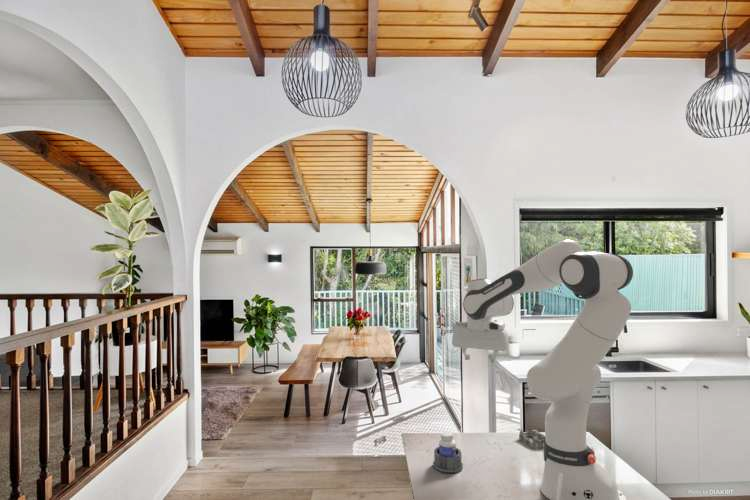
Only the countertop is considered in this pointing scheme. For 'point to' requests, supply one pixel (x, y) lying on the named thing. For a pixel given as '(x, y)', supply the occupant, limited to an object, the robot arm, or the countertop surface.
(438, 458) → the cup holder
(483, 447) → the countertop surface
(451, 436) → the pill bottle
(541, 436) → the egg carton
